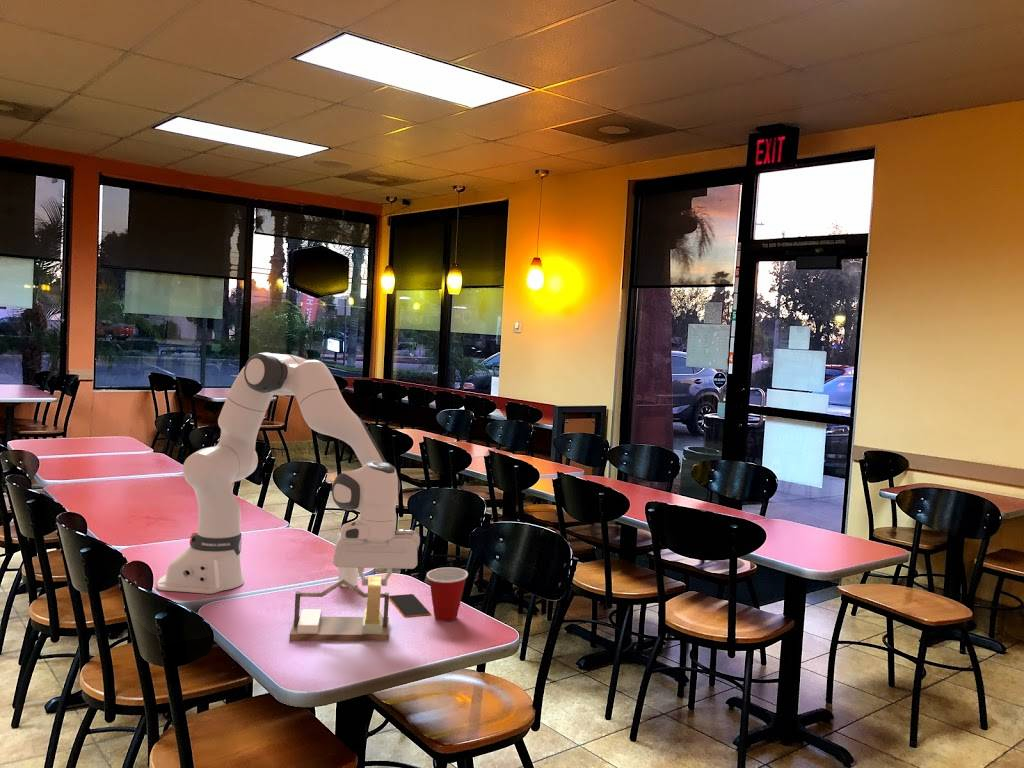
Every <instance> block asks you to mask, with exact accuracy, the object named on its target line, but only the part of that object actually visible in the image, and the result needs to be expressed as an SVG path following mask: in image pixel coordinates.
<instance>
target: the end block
mask: <svg viewBox="0 0 1024 768" xmlns="http://www.w3.org/2000/svg"><path fill="white" fill-rule="evenodd" d="M365 614H366V609H364V610H363V616H362V617H363V628H362V634H382V617H383V609H380V624H365Z"/></svg>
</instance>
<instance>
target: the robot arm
mask: <svg viewBox="0 0 1024 768" xmlns="http://www.w3.org/2000/svg"><path fill="white" fill-rule="evenodd" d="M246 361H247V362H246V363H245V365H244V366H243V367H242V368H241V370H240V372H239V373H238V375H237V377H236V378H235V380H234V381H233V383H232V385H231V386H230V387H231V388H230V389H229V392H228V394H227V396H226V399H225V402H224V404H223V405H222V408H221V411H220V414H219V416H218V418H217V425H218V427H219V429H220V438H219V441H218V443H217V444H216V445H215V446H209V447H204V448H201V449H199V450H197V451H195V452H193V453H192V454H190V455H189V456H188V457H187V458H186V459H185V461H184V463H183V464H182V475H183V476H184V477H183V478H184V480H185V481H186V482H187V484H189V486H191V488H192V489H193V491H194V494H195V498H196V501H197V506H198V514H197V515H198V516H197V517H198V519H197V520H198V521H197V523H198V529H197V530H194V531H193V532H192V533H191V536H190V537H189V547H188V548H186V549H185V550H184V551H182V552H181V553H179V554H178V555H176V556H175V557H174V558H172V560H171V561H170V563H169V564H168V566H167V569H166V574H164V575H162V576H161V577H160V578H159V579H158V580H157V582H156V583H157V584H156V588H157V590H159V591H168V592H183V593H194V594H195V593H196V594H206V595H207V594H208V595H209V594H210V595H211V594H216V593H218V592H223V591H227V590H232V589H235V588H236V589H237V588H239V587H240V586H243V584H244V582H245V581H244V580H245V579H244V577H243V571H242V565H241V551H242V538H243V537H242V532H241V514H242V508H241V507H242V506H241V504H240V502H239V501H237V500H236V499H235V498H236V497H235V496H234V492H233V488H232V486H233V483H235V482H240V481H242V480H244V479H246V478H248V477H249V476H250V475H252V474H253V473H254V472H255V471H256V469H257V467H258V463H259V457H258V453H257V451H256V443H257V437H258V434H259V430H260V428H261V425H262V423H263V421H264V419H265V416H266V413H267V410H268V408H269V405H270V404H271V400H272V398H273V397H274V396H282V397H283V396H294V397H295V398H296V402H297V403H298V404H297V405H298V407H299V410H300V413H301V416H302V417H303V419H304V421H305V423H306V424H307V426H308V427H309V428H310V429H311V430H313V431H314V432H317V433H319V434H321V435H326V436H330V437H333V438H335V439H338V440H340V441H342V442H344V443H346V444H347V445H348V446H350V447H351V449H352V451H354V454H355V455H356V457H357V459H358V461H359V463H360V464H361V466H362V467H359V468H357V469H354V470H350V471H345V472H343V473H339V474H338V475H337V476H336V477H335V478H334V480H333V483H332V487H331V496H332V499H333V502H334V503H335V505H336V506H337V507H338V508H339V509H341V510H345V511H358V512H359V519H358V520H354V521H350V522H348V523H344V524H342V526H341V527H340V531H339V533H340V535H341V536H340V537H339V538H337V541H336V544H335V548H334V554H333V560H332V561H333V565H334V566H335V568H338V567H348V568H358V576H359V577H360V578H361V586H367V587H368V580H369V576H365V574H364V571H365V569H386V574H385V575H384V576H381V587H388V580H389V578H390V577H391V576H392V574H393V569H403V570H404V569H409V570H413V569H415V568H416V567H417V566H418V549H417V548H419V546H420V544H421V537H420V534H419V532H416V531H415V530H414V529H409V530H408V529H407V530H405V529H397V513H396V506H397V503H398V499H399V498H398V497H399V494H400V490H401V482H400V478H399V476H398V473H397V469H396V467H395V466H394V465H392V464H391V463H389V462H387V460H386V459H385V457H384V455H383V454H382V452H381V449H380V448H379V446H378V444H377V443H376V441H375V439H374V437H373V436H372V433H371V432H370V430H369V429H368V427H367V425H366V423H365V422H364V420H363V419H362V418H361V417H359V415H358V414H356V413H355V412H354V411H353V410H352V409H351V408H350V406H349V405H348V404H347V402H346V400H345V399H344V397H343V395H342V392H341V390H340V389H339V385H338V384H337V382H336V380H335V378H334V376H333V374H332V373H331V371H330V369H329V368H328V367H327V365H326V364H325V363H324V362H322V361H320V360H317V359H309V358H307V357H301V356H297V355H294V354H288V353H284V354H283V353H282V354H281V353H271V352H258V353H255V354H253V355H252V356H250V357H249V358H248V359H247V360H246Z"/></svg>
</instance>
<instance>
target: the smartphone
mask: <svg viewBox="0 0 1024 768" xmlns="http://www.w3.org/2000/svg"><path fill="white" fill-rule="evenodd" d="M389 599H390V600H389V602H391V604H392V605H393V604H394V605H393V606H394V607H395V609H397V611H398V610H399V611H398V613H400V614H401V615H402V617H403V618H414V617H415V618H416V617H426V616H427V617H428V616H429V617H430V616H431V615H432V613H431V612H430V611H429V609H427V607H426V606H425V605H424V604H423V603H422V602H421V601H420V599H418V597H417V596H416V595H415V594H413V593H409V594H396V595H389Z"/></svg>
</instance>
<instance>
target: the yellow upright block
mask: <svg viewBox="0 0 1024 768" xmlns="http://www.w3.org/2000/svg"><path fill="white" fill-rule="evenodd" d="M381 577H382V576H381V575H368V586H367V593H368V597H367V598H366V599H367V600H366V601H367V603H366V607H365V610H366V614H365V624H380V610H381V607H380V605H381V598H380V593H381V590H382V589H381V588H382V586H381Z"/></svg>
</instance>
